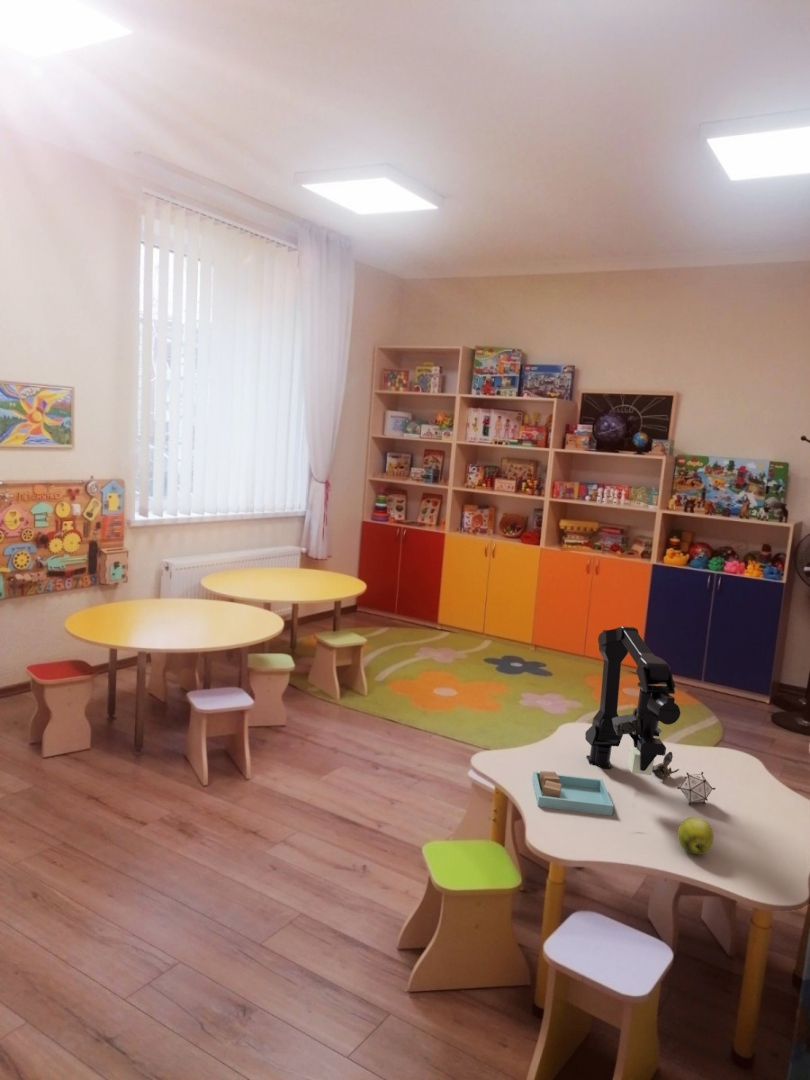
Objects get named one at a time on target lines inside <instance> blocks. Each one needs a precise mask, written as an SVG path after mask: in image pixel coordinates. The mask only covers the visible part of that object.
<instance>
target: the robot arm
mask: <svg viewBox="0 0 810 1080" xmlns="http://www.w3.org/2000/svg"><path fill="white" fill-rule="evenodd" d="M597 642H598V651H599V653H600V655H601V656H602V658H603V667H602V669H603V670H602V679H601V680H602V681H601V691H600V693H601V694H600V704H599V709H598V711H597V712H596V714H595V715H594V717H593V718H592V725H591V726H590V727H589V728H588V729H587V730H586V731H585V737H584V738H585V740H586V742H587V743H588V744H589V745H590V752H589V755H588V754H587V755H586V757H585V758H586V760H587V761H588V764H589V765H590V766H596V767H600V768H603V769H613V765H612V762H611V760H610V759H611V754H612V747H617V748H618V747H619V746H620V744H621V741H622V738H623V737H624V735H628V736H630V738H631V739H632V740H633V747H637V749H638V750H639V751H640V770H641V771H645V770H646V769H647V767H648V766H649V765H650V763H651V762H652V761H653V760H654V761H655V759H656V757H657V756H664V757H665V755H666V754H667V747H666V745H665V744H664V742H663V741H662V740H661V739H660V738H654V737H660V731H659V730H658V728H659V723H660V722H661V723H662V724H664V725H666V726H668V725H669V726H670V725H673V724H675V723H676V722H677V721H678V720H679V718H680V717H681V710H680V707H679V706H678V704H677V703H675V701H676V700H675V699H676V698H675V697H674V696H672V695H675V694H676V691H675V688H676V684H675V681H674V677H673V672H672V669H671V668H670V666H669V664H668V662H666V661H665V660H664V659H663V658H661V657H659V656H657V655H655V654H654V653H653V652H652V651H651V649H650V648H649V647H648V645H647V644H646V642H645V641H644V639H643V638H642V636H641V635H640V634H639V630H638V628H636V627H634V626H623V625H622V626H619V627H616V628H613V629H603V630H602V632H600V633H599V634H598V638H597ZM628 654H629V655H630V656H631V659H633V661H634V663H635V664H636V667H637V668H636V671H635V673H636V675H637V677H638V681H639V682H638V683H637V686H638V688H639V695H638V701H637V706H636V707H634V709H633V710H632V713H631V714H625V715H620V716H619V714H618V705H619V695H620V694H619V693H620V692H619V691H620V681H621V680H620V679H621V671H622V670H621V669H622V662H623V661H624V660H625V658H626V657H627V656H628ZM671 694H672V695H671Z"/></svg>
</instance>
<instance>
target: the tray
mask: <svg viewBox="0 0 810 1080" xmlns="http://www.w3.org/2000/svg"><path fill="white" fill-rule="evenodd" d="M556 774H557V776H558V777H559V784H562V785H561V792H560V798H555V797H547V796H543V792H542V790H541V788H540V786H539V779H540V771H532V778H531V783H532V786H533V791H534V795H535V801H536V803H537V807H538V808H539V807H540V808H548V809H554V810H555V809H556V810H563V811H573V812H582V813H589V814H596V815H597V814H598V815H604V816H613V810H614V804H613V802H612V799H611V797H610V795H609V792H608V790H607V787H606V785H605V782H604V781H603V779H601V778H600V779H599V778H592V777H584V776H583V777H582V776H575V775H566V774H559V773H556Z"/></svg>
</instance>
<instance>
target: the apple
mask: <svg viewBox="0 0 810 1080" xmlns="http://www.w3.org/2000/svg"><path fill="white" fill-rule="evenodd" d="M712 829H713V828H712V827H711V826H710V824H709V822H708V821H706V820H705V819H703V818H700V817H694V816H693V817H689V818H686V819H684V820H683V821H682V822H681V824H680V825H679V827H678V830H677V837H678V838H677V839H678V841H679V844H680V846H681V847H682V848H683V849H684V850H685V851H687V852H688V853H690V854H692V855H702V854H705V853H707V852H708V851H710V849H711V848H712V846H713V844H714V832H713V830H712Z"/></svg>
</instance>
